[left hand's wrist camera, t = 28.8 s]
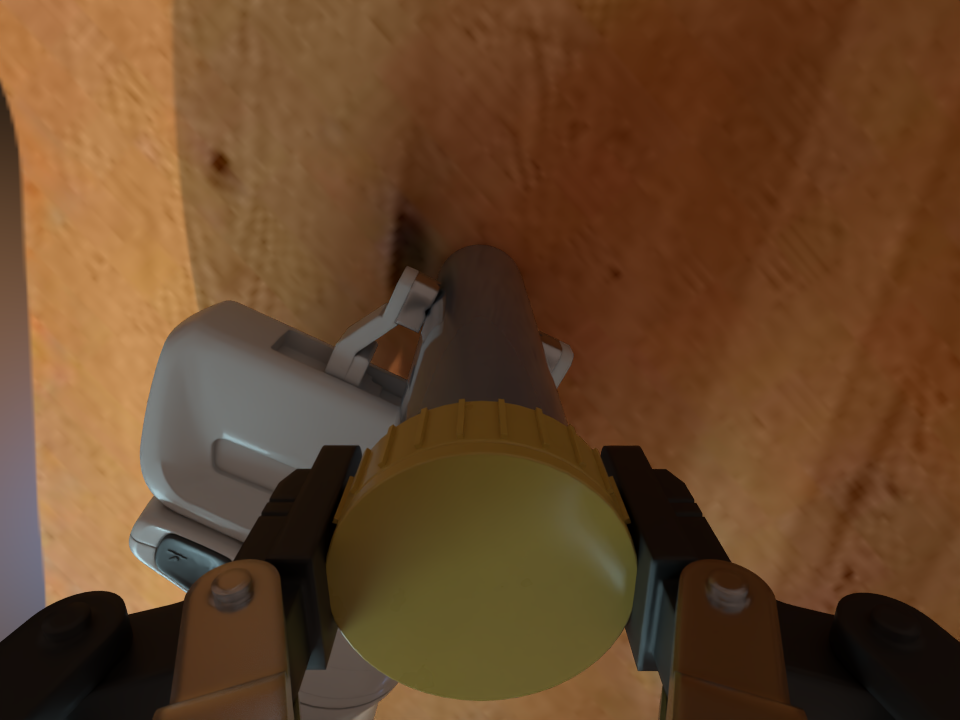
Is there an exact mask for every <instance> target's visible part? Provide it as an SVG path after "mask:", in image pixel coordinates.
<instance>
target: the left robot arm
mask: <svg viewBox="0 0 960 720" xmlns="http://www.w3.org/2000/svg"><path fill="white" fill-rule="evenodd" d="M361 459H362V451H361V448H360V446H359V445H324V446H323V447H322V448H321V450H320V452H319V454H318V456H317V458H316V460H315V462H314V464H313V466H312V468H311V469H296V470H295V471H293V472H292V473H291V474H289V475H288V476H287V477H286V478H284V479H283V480H282V481H280V482H279V483H278V485H277V487H276V488H275V490H274V492H273V493H272V495H271V497H270V499H269V502H267V504H266V505H265V507H264V509H263V511H262V512H261V516H259V517H258V519H257V521H256V522H255V524H254V526H253V528H252V529H251V531H250V533H249V534H248V536H247V538H246V540H245V541H244V543H243V545H242V546H241V548H240V550H239V552H238V553H237V555H236V557H235V558H234V560H233V561H232V562H229V563H226V564H223V565H220V566H218V567H216V568H214V569H212V570H210V571H209V572H207V573H205V574H204V575H203V576H201V577H200V578H199V579H198V580H197V581H196V582H195V583H194V584H193V585H192V586H191V587H190V589H189V590H188V592H187V594H186V596H185V599H184V601H181V602H178V603H175V604H171V605H167V606H163V607H159V608H154V609H150V610H146V611H142V612H137V613H133V614H129V615H128V613H127V609H126V606H125V603H124V601H123V599H122V598H121V597H120V596H118V595H117V594H115V593H112V592H107V591H91V592H84V593H80V594H76V595H73V596H70V597H67V598H64V599H62V600H60V601H57V602H55V603H53V604H51V605H49V606H47V607H46V608H44V609H42V610H41V611H39V612H38V613H36V614H35V615H34V616H32V617H31V618H30V619H28V620H27V621H26V622H25V623H24V624H22V625H21V626H20V627H19V628H17V629H16V630H15V631H14V632H12V633H11V634H10V635H9V636H7V637H6V638H5V639H4V640H3V641H1V642H0V720H302V717H301V707H300V699H299V693H298V692H299V690H300V687H301V684H302V680H303V677H304V674H305V671H306V670H326V668H327V665H328V661H329V658H330V654H331V651H332V647H333V644H334V640H335V637H336V633H337V630H338V626H337V624H336V622H335V620H334V618H333V615H332V612H331V606H330V597H329V589H328V581H327V573H326V555H327V552H328V549H329V545H330V542H331V539H332V536H333V533H334V531H335V528H336V525H337V524H334V523H332V522H333V519H334V516H335V514H336V511H337V508H338V506H339V503H340V501H341V498H342V495H343V493H344V490H345V487H346V485H347V482H348V479H349V477H350V476H352V477H354V476H355V474H356V472H357V470H358V467H359V464H360V461H361ZM601 459H602V461H603V464H604V467H605V469H606V472H607V474H608V477H610V476H613V478H614V480H615V483H616V485H617V488H618V490H619V493H620V495H621V498H622V501H623V503H624V506H625V508H626V511H627V513H628V516H629V518H630V521H631V523H629V524H627V527H628V529H629V532H630V534H631V537H632V540H633V543H634V547H635V550H636V554H637V561H638V565H637V575H636V583H635V591H634V599H633V606H632V613H631V615H630V618H629V620H628V622H627V624H626V626H625V629H626V633H627V636H628V639H629V643H630V646H631V649H632V653H633V656H634V660H635V663H636V666H637V670H638V671H658V672H659V675H660V678H661V681H662V684H663V686H662V693H661V699H660V707H659V717H658V720H960V642H959V641H958V640H956V639H955V638H954V637H953V636H951V635H950V634H949V633H948V632H946V631H945V630H944V629H943V628H941V627H940V626H939V625H938V624H937V623H935V622H934V621H933V620H932V619H930V618H929V617H927V616H926V615H925V614H923V613H922V612H920V611H918V610H917V609H915V608H913V607H911V606H909V605H907V604H905V603H903V602H901V601H898V600H896V599H893V598H890V597H887V596H883V595H879V594H873V593H853V594H850V595H847V596H845V597H843V598H842V599H841V600H840V601H839V603H838V605H837V608H836V612H835V615H831V614H827V613H823V612H818V611H814V610H810V609H806V608H801V607H797V606H793V605H790V604H786V603H783V602H780V601H778V600H776V599H775V596H774V594H773V592H772V590H771V589H770V587H769V586H768V585H767V584H766V583H765V582H764V581H763V580H762V579H761V578H760V577H759V576H757V575H756V574H755V573H753V572H751V571H750V570H748V569H746V568H744V567H742V566H740V565H737V564H734V563H732V562H731V561H730V559H729V557H728V556H727V554H726V552H725V551H724V549H723V547H722V546H721V544H720V542H719V541H718V539H717V537H716V536H715V534H714V532H713V530H712V529H711V527H710V525H709V524H708V522H707V520H706V519H705V517H703V516H702V512H701V510H700V509H699V507H698V505H697V503H694V498H693V497H692V495H691V493H690V492H689V490H688V488H687V487H686V485H685V483H683V482H682V481H681V480H680V479H678V478H677V477H676V476H674V475H673V474H672V473H670V472H669V471H668V470H667V469H652V468H651V466H650V464H649V462H648V460H647V458H646V456H645V454H644V452H643V451H642V449H641V447H640V446H603V448H602V451H601Z"/></svg>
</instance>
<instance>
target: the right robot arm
mask: <svg viewBox="0 0 960 720" xmlns="http://www.w3.org/2000/svg"><path fill="white" fill-rule="evenodd" d="M418 272H419V271H418V270H416V269H413V268H411V267H409V266H407V267H406V268H405V270H404V272H403V274H402V276H401V278H400V279H399V281H398V283H397V286H396V288H395V290H394V292H393V294H392V296H391V299H390V301H389V303H385V304H384V305H382V306H381V307H379V308H377V309H376V310H374V311H373V312H371V313H370V314H368V315H367V316H365V317H364V318H362V319H361V320H359V321H358V322H356V323H355V324H353V325H352V326H350V327H348V329H347V330H346V331H345V333H344V334H343V336H342V337H341V338H340V340H339V341H338V342H337V344H336V346H335V347H334V346H332V345H330V344H328V343H325V342H323V341H321V340H319V339H317V338H314V337H312V336H310V335H308V334H306V333H304V332H301V331H299V330H297V329H295V328H293V327H290V326H288V325H286V324H284V323H282V322H279V321H277V320H275V319H273V318H271V317H269V316H266V315H264V314H262V313H260V312H258V311H255V310H253V309H251V308H249V307H247V306H245V305H242V304H240V303H238V302H235V301H224V302H221V303H218V304H215V305H213V306H210V307H208V308H205V309H203V310H201V311H199V312H197V313H195V314H193V315H192V316H190V317H188V318H187V319H185V320H184V321H183V322H181V323H180V324H179V325H178V326H177V327H175V328H174V330H173V331H172V332H171V333H170V334H169V336H168V337H167V339H166V341H165V343H164V346H163V349H162V351H161V354H160V357H159V360H158V363H157V367H156V370H155V374H154V378H153V381H152V385H151V389H150V394H149V398H148V403H147V408H146V413H145V418H144V424H143V431H142V438H141V446H140V464H141V470H142V474H143V477H144V480H145V482H146V484H147V486H148V488H149V489H150V491H151V492H152V493H153V495H154V496H153V497H152V499H151V500H150V501H149V503H148V504H147V506H146V507H145V509H144V510H143V512H142V513H141V515H140V516H139V518H138V519H137V521H136V523H135V525H134V526H133V529H132V531H131V534H130V538H129V546H130V549H131V551H132V553H133V554H134V555H135V556H136V557H137V558H138V559H139V560H140V561H141V562H143V563H144V564H145V565H147V566H148V567H150V568H151V569H153V570H154V571H156V572H157V573H159V574H160V575H162V576H163V577H165V578H166V579H168V580H169V581H170V582H172V583H173V584H175V585H176V586H178V587H179V588H181V589H182V590H183V591H185V592H186V593H187V592H188V590H189V589H190V587H191V586H192V585H193V584H194V583H195V582H196V581H197V580H198V579H199V578H200V577H201V576H203V575H204V574H205V573H207V572H209V571H210V570H212V569H214V568H216V567H218V566H220V565H223V564H226V563H229V562H232V561H233V560H234V558H235V557H236V555H237V553H238V552H239V550H240V548H241V546H242V545H243V543H244V541H245V540H246V538H247V536H248V534H249V533H250V531H251V529H252V528H253V526H254V524H255V522H256V521H257V519H258V517H259V516H261V512H262V511H263V509H264V507H265V505H266V504H267V502H269V499H270V497H271V495H272V493H273V492H274V490H275V488H276V487H277V485H278V483H279V482H280V481H282V480H283V479H284V478H286V477H287V476H288V475H289V474H291V473H292V472H293V471H295V470H296V469H311V468H312V466H313V464H314V462H315V460H316V458H317V456H318V454H319V452H320V450H321V448H322V447H323V446H324V445H359V446H360V448H361V451H362V456H363V453H364V451H365V450H366V448H369V449H370V450H371V449H372V448H373V447H374V446H375V444H376V443H377V442H378V441H379V440H380V439H381V438H382V437H384V436H385V435H386V434H387V432H388V429H389V427H390V426H391V425H393V424H394V422H395V419H396V416H397V412H398V409H399V406H400V402H401V399H402V395H403V392H404V389H405V385H406V382H407V380H406V379H404V378H402V377H400V376H398V375H395V374H393V373H391V372H389V371H387V370H385V369H382V368H380V367H378V366H376V365H374V364H371V363H370V362H371V360H372V358H373V355H374V353H375V351H376V349H377V346H378V343H377V341H375V340H376V339H378V338H379V337H381V336H382V335H384V334H385V333H387V332H388V331H390V330H391V329H393V328H394V327H395V326H397V325H398V324H399V325H402V326H404V327H406V328H408V329H411V330H413V331H415V332H417V333H419V331H420V329H421V327H422V325H423V323H424V321H425V318H426V315H427V312H428V309H429V308H431V307H432V305H433V303H434V301H435V298H436V296H437V294H438V292H439V289H440V285H441V282H439V281H437V280H435V279H433V278H431V277H429V276H427V275H425V274H423V273H421V272H419V273H418ZM538 331H539V330H538ZM539 334H540V337H541V340H542V343H543V347H544V350H545V353H546V356H547V359H548V363H549V366H550V369H551V372H552V375H553V379H554V382H555V385H556V388H558V386H559V384H560V383H561V381H562V379H563V378H564V376H565V374H566V373H567V371H568V369H569V368H570V366H571V364H572V360H573V357H574V354H573V351H572V349H571V347H570V345H568V344H566V343H564V342H562V341H560V340H558V339H556V338H554V337H551V336H549V335H547V334H545V333H543V332H541V331H539ZM397 683H398V682H397V681H395V680H393V679H391V678H390V677H388V676H387V675H385V674H383V673H382V672H380V671H378V670H377V669H376V668H374V667H373V666H372V665H371V664H369V663H368V662H367V661H365V660H364V659H363V658H362V657H361V656H360V655H359V654H358V653H357V652H356V651H355V650H354V649H353V648H352V646H351V645H350V644H349V642H348V641H347V640H346V639H345V637H344V636H343V635H342V633H341V631H340V629H339V628H338V630H337V633H336V637H335V640H334V644H333V647H332V651H331V654H330V658H329V661H328V665H327V668H326V670H306V671H305V674H304V677H303V680H302V684H301V687H300V690H299V692H298V693H299V699H300V707H301V717H302V720H373V719H374V716H375V713H376V709H377V704H378V702H379V701H381V700H382V699H383V698H384V697H385V696H387V695H388V694H389V692H390V691H391V690H392V689H393V688H394V687H395V686H396V685H397Z"/></svg>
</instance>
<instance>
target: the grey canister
mask: <svg viewBox="0 0 960 720" xmlns="http://www.w3.org/2000/svg"><path fill="white" fill-rule="evenodd" d="M437 281H439V282H441V285H440V289H439V292H438V294H437V296H436V298H435V301H434V303H433V305H432V307H431V308H429V309H428V312H427V315H426V318H425V321H424V325H423V328H422V331H421V335H420V338H419V341H418V345H417V348H416V352H415V355H414V358H413V362H412V365H411V368H410V372H409V375H408V379H407V382H406V385H405V389H404V392H403V395H402V399H401V402H400V406H399V409H398V412H397V416H396V419H395V422H394V425H395V426H398V425H400V424H401V423H403V422H404V421H406V420H408V419H409V418H411V417H414V416H416V415H418V414H420V413H421V409H423V408H426V407H427V409H428V410H431V409H434V408H437V407H440V406H443V405H448V404H454V403H459V399H465V402H470V401H493V402H498V399H504V401H505V403H509V404H515V405H520V406H523V407H526V408H529V409H532V410H535V409H536V407H537V408H540V409H542V413H543V414H545V415H547V416H549V417H551V418H554V419H555V420H557V421H559V422H560V423H562V424H563V425H565V426H567V427H568V423H567V420H566V417H565V414H564V411H563V407H562V404H561V401H560V398H559V395H558V391H557V388H556V385H555V382H554V379H553V375H552V372H551V369H550V366H549V363H548V359H547V356H546V353H545V350H544V347H543V343H542V340H541V337H540V334H539V331H538V327H537V324H536V321H535V318H534V315H533V311H532V308H531V305H530V302H529V299H528V295H527V292H526V289H525V286H524V283H523V279H522V276H521V273H520V271H519V269H518V267H517V265H516V263H515V262H514V261H513V260H512V259H511V257H510V256H508V255H507V254H506V253H504V252H503V251H501V250H499V249H497V248H495V247H492V246H487V245H472V246H467V247H465V248H462V249H460V250H458V251H456V252H455V253H453V254H452V255H451V256H450V257H449V258H448V259H447V260H446V261H445V262H444V264H443V265H442V267H441V269H440V271H439V274H438V277H437Z"/></svg>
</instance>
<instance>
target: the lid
mask: <svg viewBox="0 0 960 720" xmlns="http://www.w3.org/2000/svg"><path fill="white" fill-rule="evenodd" d="M332 523H334V524H337V525H336V528H335V531H334V533H333V536H332V539H331V542H330V545H329V549H328V552H327V555H326V573H327V581H328V589H329V597H330V606H331V612H332V615H333V618H334V620H335V622H336V624H337V626H338V628H339V629H340V631H341V633H342V635H343V636H344V637H345V639H346V640H347V641H348V642H349V644H350V645H351V646H352V648H353V649H354V650H355V651H356V652H357V653H358V654H359V655H360V656H361V657H362V658H363V659H364V660H365V661H367V662H368V663H369V664H371V665H372V666H373V667H374V668H376V669H377V670H378V671H380V672H382V673H383V674H385V675H387V676H388V677H390V678H391V679H393V680H395V681H397V682H399V683H402V684H404V685H406V686H408V687H410V688H413V689H416V690H419V691H422V692H425V693H428V694H432V695H436V696H441V697H445V698H452V699H459V700H474V701H489V700H503V699H510V698H517V697H522V696H526V695H530V694H534V693H538V692H540V691H543V690H546V689H549V688H552V687H554V686H557V685H559V684H561V683H563V682H565V681H567V680H569V679H571V678H573V677H574V676H576V675H578V674H579V673H581V672H582V671H584V670H586V669H587V668H588V667H589V666H591V665H592V664H593V663H595V662H596V661H597V660H598V659H599V658H600V657H601V656H602V655H603V654H604V653H605V652H606V651H607V650H608V649H609V648H610V647H611V646H612V645H613V643H614V642H615V641H616V640H617V638H618V637H619V636H620V634H621V633H622V631H623V629H624V627H625V626H626V624H627V622H628V620H629V618H630V615H631V613H632V606H633V599H634V591H635V583H636V575H637V565H638V561H637V554H636V550H635V547H634V543H633V540H632V537H631V534H630V532H629V529H628V527H627V524H629V523H631V521H630V518H629V516H628V513H627V511H626V508H625V506H624V503H623V501H622V498H621V495H620V493H619V490H618V488H617V485H616V483H615V480H614V478H613V476H610V477H608V474H607V472H606V469H605V467H604V464H603V461H602V459H601V456H600V454H599V451H598V450H597V449H596V448H594V449H593V450H592V449H591V448H590V447H589V446H588V445H587V444H586V443H585V441H584V440H583V439H582V438H581V437H579V436H578V435H577V434H576V432H575V429H574V427H573V426H572V425H569V426H568V427H567V426H565V425H563V424H562V423H560V422H559V421H557V420H555V419H554V418H551V417H549V416H547V415H545V414H543V413H542V409H540V408H537V407H536V409H535V410H532V409H529V408H526V407H523V406H520V405H515V404H509V403H505V401H504V399H498V402H493V401H470V402H465V399H459V403H454V404H448V405H443V406H440V407H437V408H434V409H431V410H428V409H427V407H426V408H423V409H421V413H420V414H418V415H416V416H414V417H411V418H409V419H408V420H406V421H404V422H403V423H401V424H400V425H398V426H395V425H394V424H393V425H391V426H390V427H389V429H388V432H387V434H386V435H385V436H384V437H382V438H381V439H380V440H379V441H378V442H377V443H376V444H375V446H374V447H373V448H372V449H371V450H370V449H369V448H366V450H365V451H364V453H363V456H362V459H361V461H360V464H359V467H358V470H357V472H356V474H355V476H354V477H352V476H350V477H349V479H348V482H347V485H346V487H345V490H344V493H343V495H342V498H341V501H340V503H339V506H338V508H337V511H336V514H335V516H334V519H333V522H332Z"/></svg>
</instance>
